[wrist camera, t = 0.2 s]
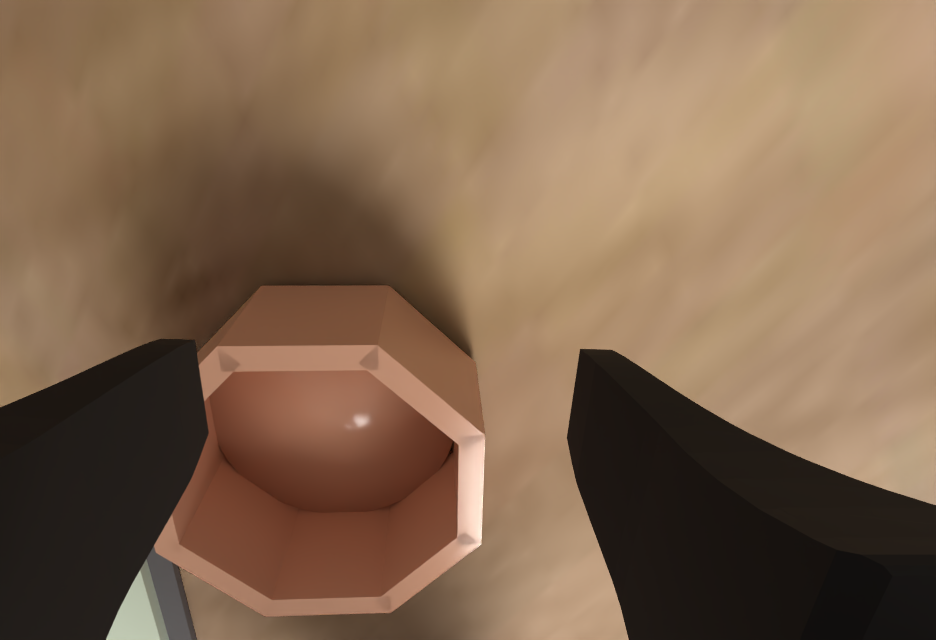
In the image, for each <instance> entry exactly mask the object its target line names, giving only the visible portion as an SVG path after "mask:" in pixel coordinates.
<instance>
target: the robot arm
mask: <svg viewBox="0 0 936 640" xmlns="http://www.w3.org/2000/svg"><path fill="white" fill-rule="evenodd" d="M208 434H209V430H208V423H207V417H206V410H205V404H204V397H203V390H202V384H201V377H200V371H199V364H198V357H197V351H196V344H195V340H182V339H159V340H156V341H152V342H149V343H147V344H144V345H142V346H139V347H137V348H134V349H132V350H130V351H127V352H125V353H123V354H121V355H118V356H116V357H114V358H112V359H110V360H107V361H105V362H103V363H101V364H99V365H97V366H94V367H92V368H90V369H88V370H86V371H83V372H81V373H79V374H77V375H75V376H73V377H70V378H68V379H66V380H64V381H62V382H59V383H57V384H55V385H52V386H50V387H48V388H45V389H43V390H41V391H38V392H36V393H34V394H31V395H29V396H27V397H24V398H22V399H19V400H17V401H15V402H12V403H10V404H8V405H5V406H3V407H1V408H0V640H106V638H107V636H108V634H109V631H110V629H111V627H112V625H113V622H114V620H115V618H116V615H117V613H118V611H119V609H120V607H121V605H122V603H123V601H124V599H125V597H126V595H127V593H128V591H129V589H130V587H131V585H132V583H133V582H134V580H135V578H136V576H137V575H138V573H139V571H140V569H141V568H142V566H143V564H144V562H145V561H146V559H147V557H148V555H149V554H150V552H151V550H152V548H153V547H154V545H155V543H156V541H157V539H158V538H159V536H160V534H161V532H162V531H163V529H164V527H165V525H166V524H167V522H168V520H169V518H170V517H171V515H172V513H173V511H174V510H175V508H176V506H177V504H178V502H179V501H180V499H181V497H182V495H183V493H184V492H185V490H186V488H187V486H188V484H189V482H190V480H191V479H192V476H193V474H194V471H195V469H196V466H197V464H198V461H199V459H200V456H201V453H202V451H203V448H204V445H205V442H206V439H207V437H208ZM567 440H568V445H569V450H570V455H571V460H572V465H573V469H574V474H575V478H576V482H577V485H578V488H579V491H580V494H581V497H582V499H583V502H584V505H585V508H586V510H587V513H588V516H589V519H590V521H591V524H592V527H593V530H594V532H595V535H596V538H597V540H598V543H599V546H600V548H601V551H602V554H603V557H604V559H605V562H606V565H607V567H608V570H609V573H610V576H611V578H612V581H613V584H614V587H615V590H616V593H617V597H618V600H619V603H620V606H621V610H622V614H623V618H624V622H625V626H626V630H627V634H628V638H629V640H936V505H933V504H929V503H926V502H923V501H920V500H917V499H914V498H910V497H907V496H904V495H901V494H898V493H894V492H891V491H888V490H885V489H882V488H879V487H876V486H873V485H871V484H868V483H865V482H862V481H859V480H856V479H853V478H851V477H848V476H846V475H843V474H841V473H838V472H835V471H833V470H830V469H828V468H825V467H823V466H820V465H818V464H815V463H813V462H810V461H808V460H805V459H803V458H801V457H798V456H796V455H794V454H791V453H789V452H787V451H785V450H783V449H780V448H778V447H776V446H774V445H772V444H770V443H768V442H766V441H764V440H762V439H760V438H758V437H756V436H753V435H751V434H749V433H747V432H746V431H744V430H742V429H740V428H738V427H736V426H734V425H732V424H731V423H729V422H727V421H725V420H724V419H722V418H720V417H718V416H717V415H715V414H713V413H711V412H710V411H708V410H706V409H705V408H703V407H701V406H700V405H698V404H696V403H695V402H693V401H691V400H690V399H688V398H687V397H685V396H684V395H682V394H680V393H679V392H677V391H676V390H674V389H673V388H671V387H670V386H668V385H667V384H665V383H664V382H662V381H661V380H659V379H658V378H656V377H655V376H653V375H652V374H650V373H649V372H647V371H646V370H644V369H643V368H641V367H640V366H638V365H637V364H635V363H633V362H632V361H630V360H629V359H627V358H626V357H624V356H622V355H620V354H619V353H617V352H615V351H613V350H597V349H580V354H579V361H578V367H577V374H576V381H575V387H574V394H573V401H572V408H571V414H570V421H569V428H568V434H567Z"/></svg>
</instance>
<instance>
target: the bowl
mask: <svg viewBox="0 0 936 640" xmlns="http://www.w3.org/2000/svg"><path fill="white" fill-rule="evenodd" d="M197 357H198V364H199V371H200V377H201V384H202V390H203V397H204V404H205V410H206V417H207V423H208V430H209V434H208V437H207V439H206V442H205V445H204V448H203V451H202V453H201V456H200V459H199V461H198V464H197V466H196V469H195V471H194V474H193V476H192V479H191V480H190V482H189V484H188V486H187V488H186V490H185V492H184V493H183V495H182V497H181V499H180V501H179V502H178V504H177V506H176V508H175V510H174V511H173V513H172V515H171V517H170V518H169V520H168V522H167V524H166V525H165V527H164V529H163V531H162V532H161V534H160V536H159V538H158V539H157V541H156V543H155V545H154V548H155V551H156V553H157V554H159V555H161V556H162V557H164V558H166V559H167V560H169V561H171V562H173V563H174V564H176V565H178V566H179V567H181V568H183V569H185V570H186V571H188V572H190V573H191V574H193V575H195V576H196V577H198V578H200V579H202V580H203V581H205V582H207V583H208V584H210V585H212V586H214V587H215V588H217V589H219V590H220V591H222V592H224V593H225V594H227V595H229V596H231V597H232V598H234V599H236V600H237V601H239V602H241V603H242V604H244V605H246V606H248V607H249V608H251V609H253V610H254V611H256V612H258V613H260V614H261V615H263V616H265V617H271V616H302V615H333V614H365V613H392V612H393V611H394V610H395V609H397V608H398V607H399V606H401V605H402V604H403V603H405V602H406V601H407V600H409V599H410V598H411V597H413V596H414V595H415V594H416V593H418V592H419V591H420V590H422V589H423V588H424V587H426V586H427V585H428V584H430V583H431V582H432V581H434V580H435V579H436V578H438V577H439V576H440V575H441V574H443V573H444V572H445V571H447V570H448V569H449V568H451V567H452V566H453V565H455V564H456V563H457V562H459V561H460V560H461V559H463V558H464V557H465V556H466V555H468V554H469V553H470V552H472V551H473V550H474V549H476V548H477V547H478V546H480V545H481V537H482V509H483V480H484V452H485V430H484V423H483V415H482V407H481V400H480V392H479V384H478V377H477V369H476V363H475V362H474V361H473V360H472V359H471V358H470V357H469V356H468V355H466V354H465V353H464V352H463V351H462V350H461V349H460V348H459V347H458V346H456V345H455V344H454V343H453V342H452V341H451V340H450V339H449V338H447V337H446V336H445V335H444V334H443V333H442V332H441V331H440V330H438V329H437V328H436V327H435V326H434V325H433V324H432V323H431V322H429V321H428V320H427V319H426V318H425V317H424V316H423V315H422V314H421V313H419V312H418V311H417V310H416V309H415V308H414V307H413V306H412V305H410V304H409V303H408V302H407V301H406V300H405V299H404V298H403V297H401V296H400V295H399V294H398V293H397V292H396V291H395V290H394V289H393V288H391V287H390V286H389V285H326V286H260V287H259V288H258V290H257V291H256V292H255V293H254V294H253V295H252V296H251V297H250V298H249V299H248V300H247V301H246V302H245V303H244V304H243V305H242V306H241V307H240V308H239V310H238V311H237V312H236V313H235V314H234V315H233V316H232V317H231V318H230V319H229V320H228V321H227V322H226V323H225V324H224V325H223V326H222V327H221V328H220V329H219V331H218V332H217V333H216V334H215V335H214V336H213V337H212V338H211V339H210V340H209V341H208V342H207V343H206V344H205V345H204V346H203V347H202V348H201V349H200V351H199V352H198V353H197ZM453 441H454V443H453ZM452 444H453V453H451V454H450V455H449V456H448V453H449V451H450V449H451V446H452ZM447 456H448V457H447Z"/></svg>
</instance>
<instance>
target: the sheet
mask: <svg viewBox="0 0 936 640" xmlns="http://www.w3.org/2000/svg"><path fill="white" fill-rule="evenodd" d="M106 640H169V637H168V634H167V630H166V627H165V623H164V620H163V616H162V613H161V609H160V605H159V602H158V598H157V595H156V591H155V588H154V584H153V581H152V577H151V573H150V570H149V566H148V563H147V559H146V561H145V562H144V564H143V566H142V568H141V569H140V571H139V573H138V575H137V576H136V578H135V580H134V582H133V583H132V585H131V587H130V589H129V591H128V593H127V595H126V597H125V599H124V601H123V603H122V605H121V607H120V609H119V611H118V613H117V615H116V618H115V620H114V622H113V625H112V627H111V629H110V631H109V634H108V636H107V638H106Z"/></svg>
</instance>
